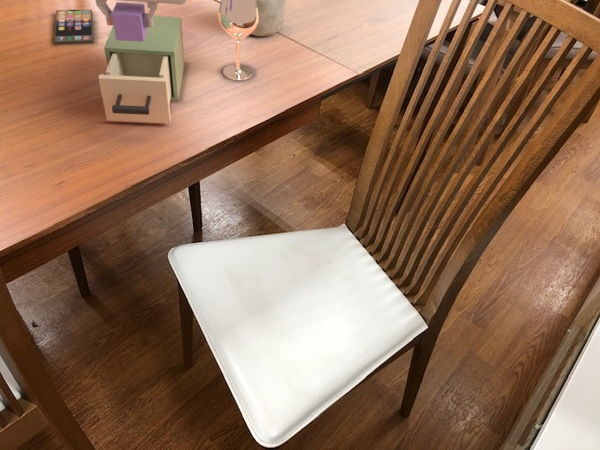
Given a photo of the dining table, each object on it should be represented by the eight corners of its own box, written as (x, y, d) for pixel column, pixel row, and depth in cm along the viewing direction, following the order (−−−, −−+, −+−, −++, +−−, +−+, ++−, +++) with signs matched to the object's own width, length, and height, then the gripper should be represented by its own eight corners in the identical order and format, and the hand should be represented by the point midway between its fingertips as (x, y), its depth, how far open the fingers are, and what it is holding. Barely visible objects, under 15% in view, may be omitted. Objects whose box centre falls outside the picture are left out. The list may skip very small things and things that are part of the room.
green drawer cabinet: (178, 101, 102) (174, 51, 94) (113, 98, 100) (103, 47, 92) (184, 64, 112) (181, 17, 104) (125, 61, 110) (118, 13, 103)
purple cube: (116, 40, 85) (111, 13, 81) (120, 28, 88) (116, 2, 85) (143, 41, 85) (140, 15, 82) (147, 29, 88) (144, 3, 85)
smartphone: (54, 44, 112) (53, 39, 111) (57, 14, 122) (56, 9, 121) (93, 43, 114) (92, 38, 113) (92, 14, 124) (91, 9, 123)
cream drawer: (167, 139, 91) (162, 96, 85) (101, 136, 90) (91, 93, 84) (177, 85, 104) (173, 44, 98) (119, 82, 103) (112, 41, 96)
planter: (230, 37, 123) (230, -9, 115) (238, 15, 131) (238, -29, 124) (281, 43, 123) (284, -2, 115) (285, 21, 132) (289, -23, 124)
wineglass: (241, 60, 116) (243, -22, 103) (263, 76, 112) (268, -8, 99) (211, 69, 111) (209, -15, 98) (233, 86, 107) (234, 1, 95)
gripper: (189, -67, 79) (194, 20, 89) (52, -78, 76) (72, 13, 86) (186, -53, 74) (191, 37, 84) (40, -65, 72) (63, 29, 82)
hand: (130, 25), depth 85 cm, fingers closed on purple cube, 4 cm apart
